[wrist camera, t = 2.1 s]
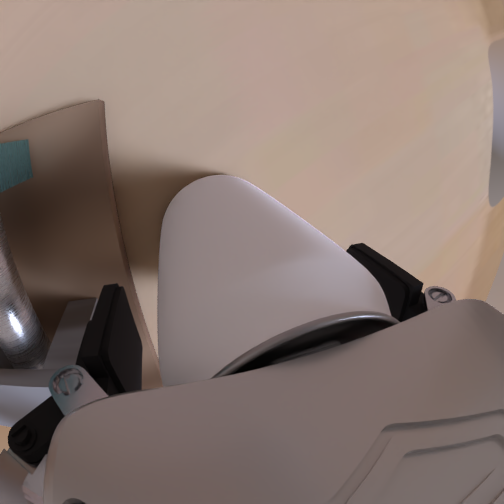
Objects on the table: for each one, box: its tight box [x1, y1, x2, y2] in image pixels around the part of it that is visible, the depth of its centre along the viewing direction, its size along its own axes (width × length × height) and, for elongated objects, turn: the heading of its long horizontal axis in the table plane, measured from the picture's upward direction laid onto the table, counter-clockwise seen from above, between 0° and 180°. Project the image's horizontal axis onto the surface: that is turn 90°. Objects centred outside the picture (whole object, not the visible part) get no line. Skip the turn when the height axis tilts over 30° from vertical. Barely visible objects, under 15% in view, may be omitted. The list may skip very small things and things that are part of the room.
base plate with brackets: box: [0, 99, 163, 427], centre depth 14 cm, size 35×13×8 cm, turn 2°
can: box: [158, 175, 400, 387], centre depth 11 cm, size 6×6×12 cm
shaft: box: [0, 139, 51, 369], centre depth 9 cm, size 17×5×8 cm, turn 2°
